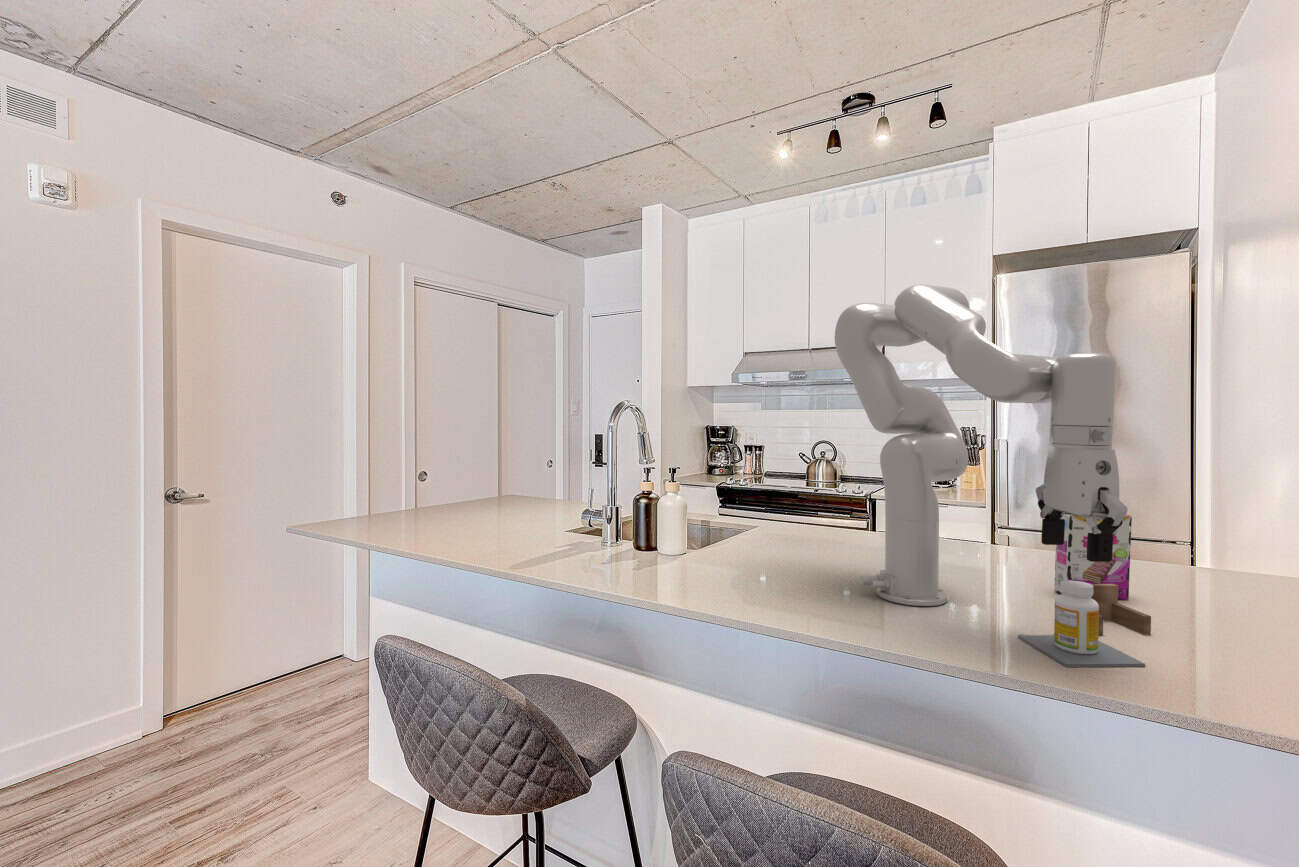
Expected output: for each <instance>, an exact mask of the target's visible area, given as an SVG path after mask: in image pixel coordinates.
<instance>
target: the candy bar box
mask: <svg viewBox="0 0 1299 867" xmlns="http://www.w3.org/2000/svg"><path fill="white" fill-rule="evenodd" d="M1132 517H1133V515H1130V514H1127V513H1126V515H1125V517H1124V519H1123V520H1122V525H1121V526H1120V527H1119V528H1118V529H1117V533H1116V534H1113V550H1112V560H1111V561H1110V562H1091V561H1088V560H1087V538H1088V533H1092V531H1091V529H1090V527H1089V525H1088V523H1087V520H1086V518H1085V517H1079V516H1075V515H1071V514H1067V513H1065V514H1064V515H1063V516H1062V518H1060V519H1064V520H1065V531H1064V544H1063V545H1055V566H1054V592H1056V593H1058V595H1061V594H1062V592H1061V591H1060V584H1061V581H1067V580H1070V581H1080V582H1085V583H1089V584H1115V585H1118V601H1119V600H1121V601H1123V600H1124V601H1126V600H1127V601H1129V597H1130V596H1129V594H1130V573H1131V572H1130V566H1131V546H1132V542H1131V541H1132V521H1133V520H1132V519H1133V518H1132ZM1097 521H1098V523H1100V522H1101V521H1102V520H1101V519H1097Z"/></svg>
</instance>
